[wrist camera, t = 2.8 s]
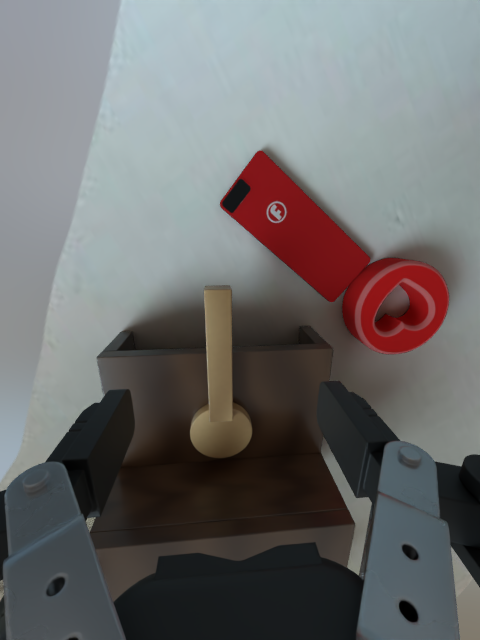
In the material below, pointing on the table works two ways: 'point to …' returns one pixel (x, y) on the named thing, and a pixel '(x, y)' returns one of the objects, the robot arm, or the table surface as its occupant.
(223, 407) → the spoon
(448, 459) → the table surface
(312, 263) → the electronic device
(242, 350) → the shelf
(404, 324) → the decorative ornament
